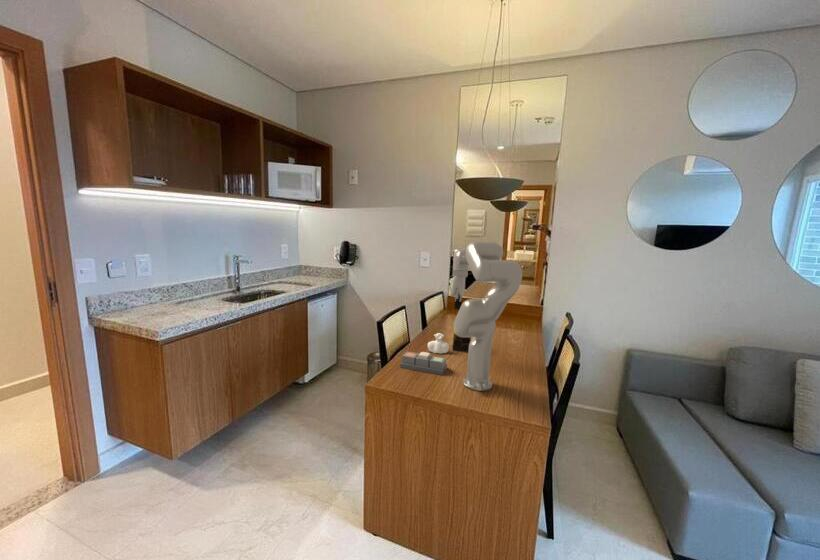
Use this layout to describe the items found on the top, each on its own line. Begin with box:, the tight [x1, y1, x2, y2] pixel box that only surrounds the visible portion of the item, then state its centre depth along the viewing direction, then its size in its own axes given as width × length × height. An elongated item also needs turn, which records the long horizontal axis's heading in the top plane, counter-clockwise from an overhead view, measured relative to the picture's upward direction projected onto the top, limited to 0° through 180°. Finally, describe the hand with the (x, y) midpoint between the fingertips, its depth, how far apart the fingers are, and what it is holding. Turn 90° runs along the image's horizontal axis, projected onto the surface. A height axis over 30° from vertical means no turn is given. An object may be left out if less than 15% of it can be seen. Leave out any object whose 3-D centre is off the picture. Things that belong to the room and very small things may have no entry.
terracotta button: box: [405, 352, 416, 357], centre depth 164 cm, size 4×4×3 cm
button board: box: [399, 351, 448, 376], centre depth 162 cm, size 21×9×6 cm, turn 70°
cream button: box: [418, 351, 431, 360], centre depth 162 cm, size 4×4×3 cm
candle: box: [451, 331, 472, 353], centre depth 190 cm, size 10×10×10 cm
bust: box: [427, 332, 450, 355], centre depth 184 cm, size 12×8×11 cm
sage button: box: [433, 356, 445, 362], centre depth 160 cm, size 4×4×3 cm
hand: (457, 308), depth 170 cm, fingers closed
